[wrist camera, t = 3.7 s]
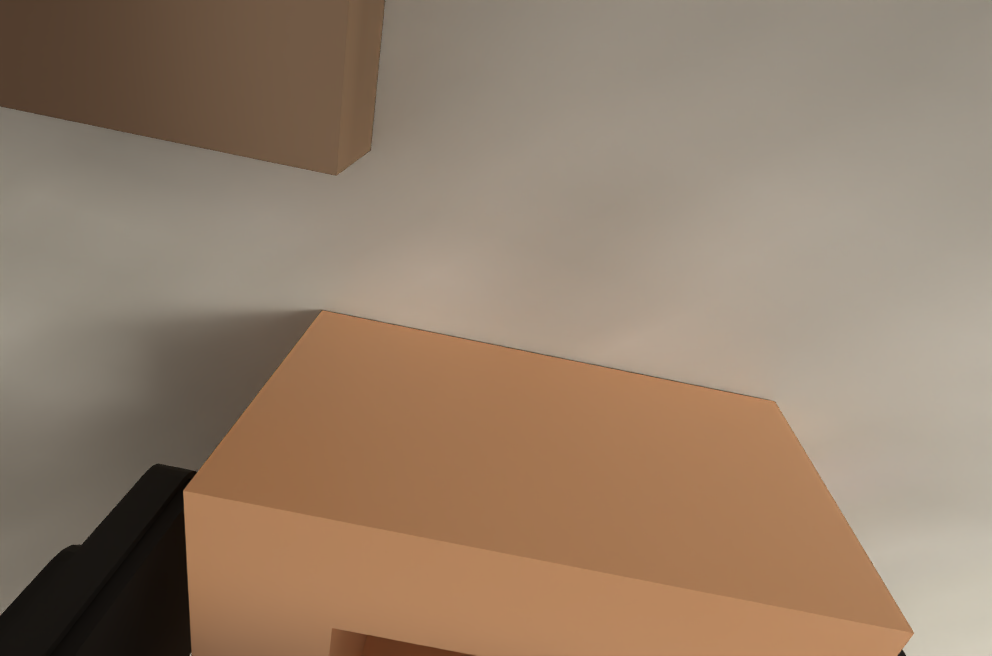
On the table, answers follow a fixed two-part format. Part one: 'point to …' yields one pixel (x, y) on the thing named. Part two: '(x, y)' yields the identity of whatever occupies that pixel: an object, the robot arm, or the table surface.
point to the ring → (515, 514)
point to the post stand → (203, 72)
